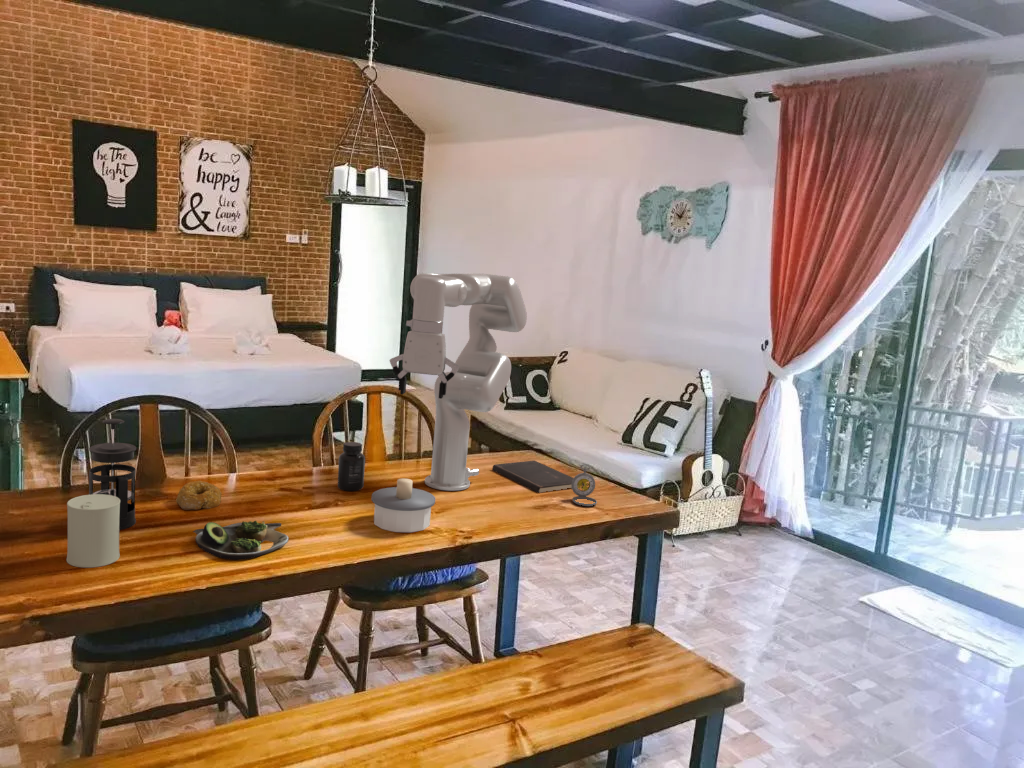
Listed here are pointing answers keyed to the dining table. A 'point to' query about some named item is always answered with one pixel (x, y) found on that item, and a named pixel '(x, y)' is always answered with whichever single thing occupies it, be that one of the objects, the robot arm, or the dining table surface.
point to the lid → (403, 497)
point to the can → (93, 530)
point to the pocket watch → (583, 487)
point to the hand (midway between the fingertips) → (421, 395)
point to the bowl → (401, 519)
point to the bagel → (198, 496)
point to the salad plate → (239, 539)
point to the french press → (115, 455)
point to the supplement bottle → (351, 467)
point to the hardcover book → (534, 476)
